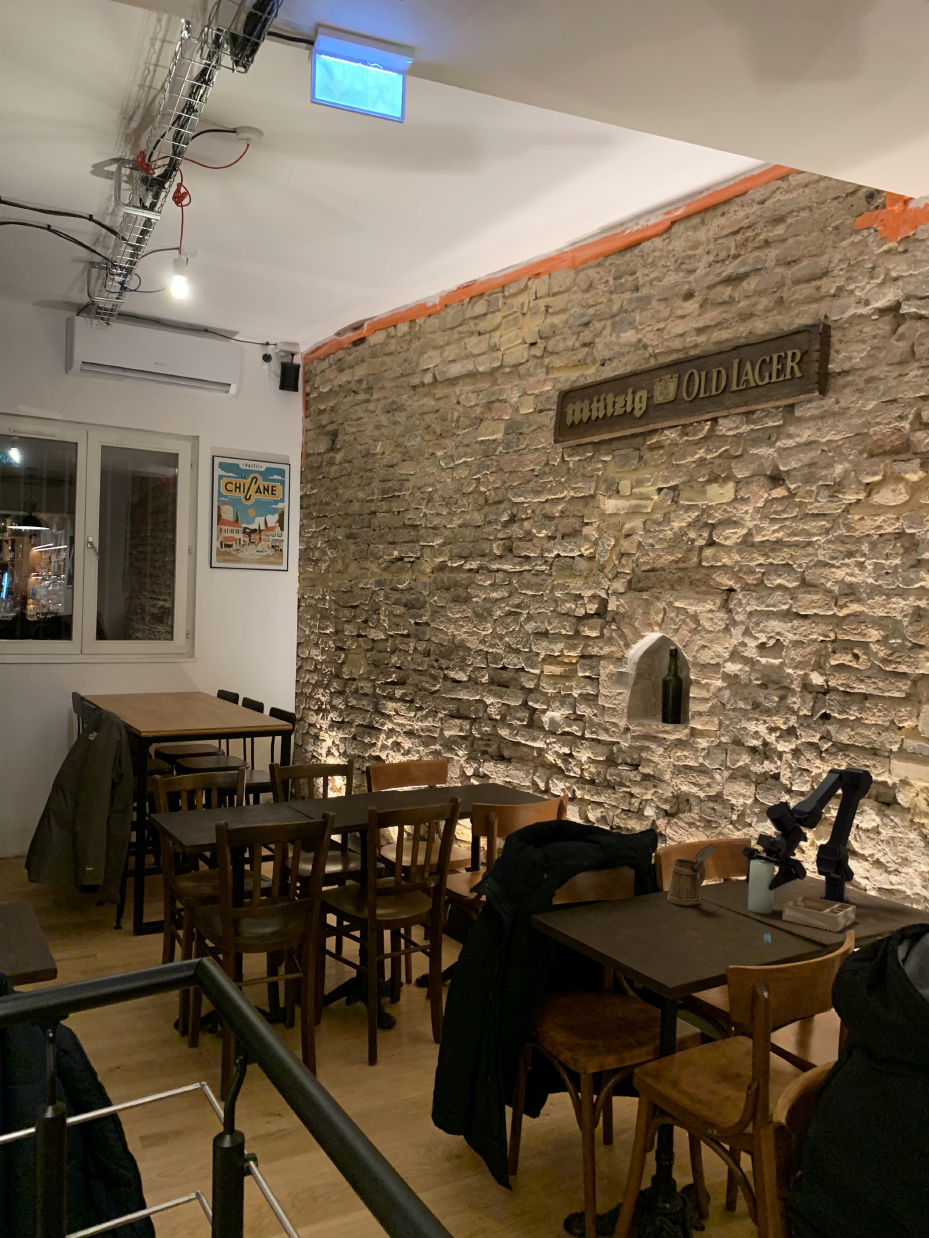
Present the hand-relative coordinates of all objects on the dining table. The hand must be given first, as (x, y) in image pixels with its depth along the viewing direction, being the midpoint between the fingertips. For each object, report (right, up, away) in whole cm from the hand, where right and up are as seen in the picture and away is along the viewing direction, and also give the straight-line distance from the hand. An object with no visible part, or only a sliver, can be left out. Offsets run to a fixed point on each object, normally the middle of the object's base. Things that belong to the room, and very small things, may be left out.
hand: (757, 885), depth 262 cm
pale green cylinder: (+1, -7, +1) cm, 7 cm away
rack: (+14, -7, -7) cm, 17 cm away
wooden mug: (-18, -6, +3) cm, 19 cm away
